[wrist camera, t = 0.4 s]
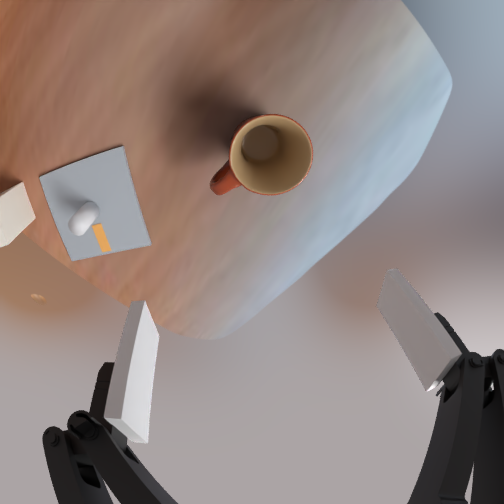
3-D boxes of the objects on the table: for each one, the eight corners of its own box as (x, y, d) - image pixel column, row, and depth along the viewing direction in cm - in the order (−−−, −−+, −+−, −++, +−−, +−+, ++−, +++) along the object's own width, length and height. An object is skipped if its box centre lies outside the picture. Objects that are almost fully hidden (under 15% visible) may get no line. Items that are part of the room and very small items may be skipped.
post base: (40, 176, 32) (20, 189, 27) (123, 145, 33) (108, 154, 28) (73, 259, 41) (59, 279, 36) (151, 243, 41) (143, 264, 36)
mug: (267, 98, 32) (285, 98, 23) (300, 149, 36) (327, 167, 28) (193, 148, 35) (185, 166, 26) (230, 195, 39) (235, 227, 30)
